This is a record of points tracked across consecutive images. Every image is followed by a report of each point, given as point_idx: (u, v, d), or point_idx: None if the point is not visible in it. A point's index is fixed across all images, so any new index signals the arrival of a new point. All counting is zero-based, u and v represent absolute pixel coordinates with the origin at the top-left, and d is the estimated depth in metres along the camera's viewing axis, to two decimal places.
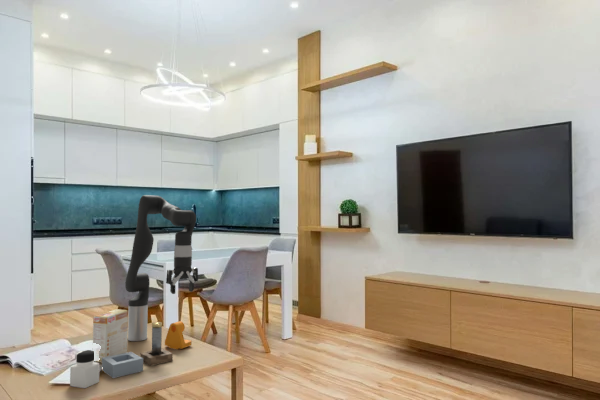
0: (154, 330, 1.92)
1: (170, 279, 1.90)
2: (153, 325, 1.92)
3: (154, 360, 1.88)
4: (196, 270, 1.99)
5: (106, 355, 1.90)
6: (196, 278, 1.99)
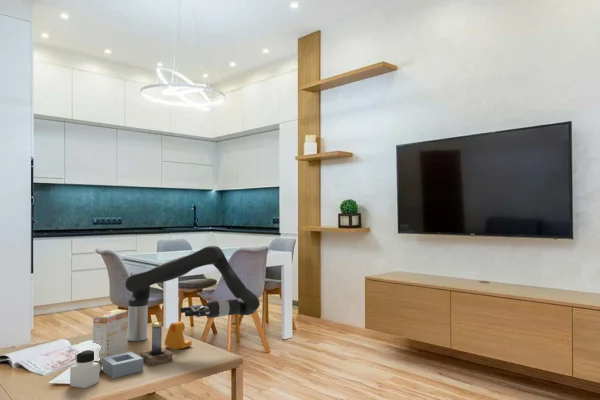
0: (154, 330, 1.92)
1: (200, 316, 1.97)
2: (153, 325, 1.92)
3: (154, 360, 1.88)
4: None
5: (106, 355, 1.90)
6: (191, 310, 2.08)
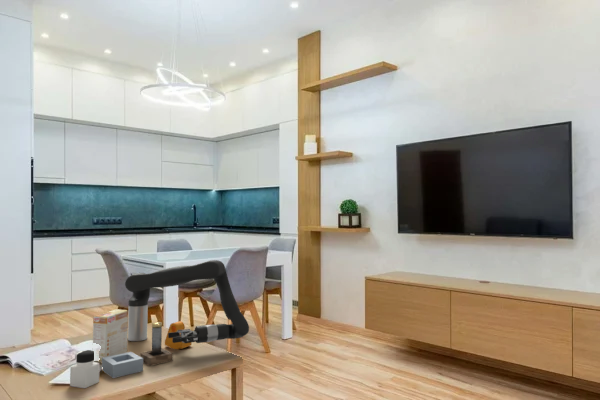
0: (154, 330, 1.92)
1: None
2: (153, 325, 1.92)
3: (154, 360, 1.88)
4: None
5: (106, 355, 1.90)
6: None
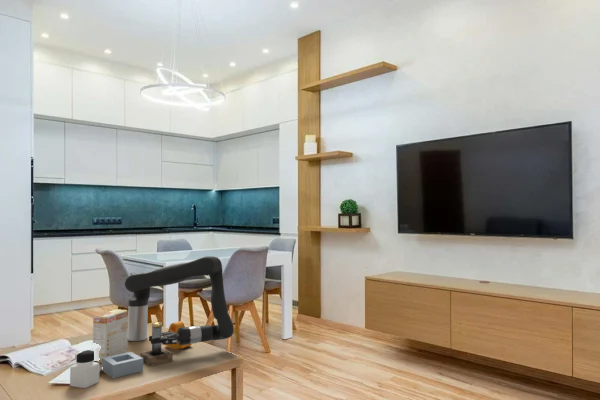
0: (154, 330, 1.92)
1: None
2: (153, 325, 1.92)
3: (154, 360, 1.88)
4: None
5: (106, 355, 1.90)
6: None
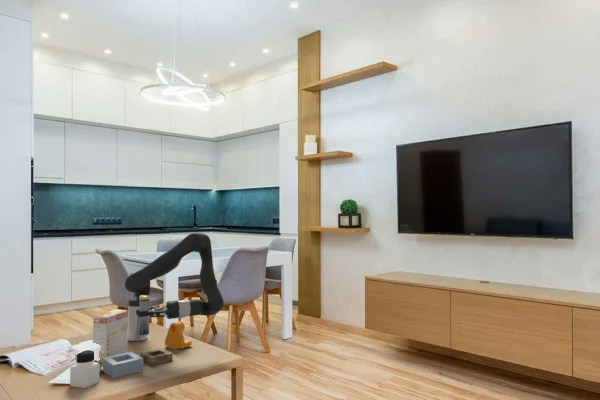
0: (141, 303, 1.87)
1: None
2: (140, 298, 1.87)
3: (154, 360, 1.88)
4: None
5: (106, 355, 1.90)
6: None
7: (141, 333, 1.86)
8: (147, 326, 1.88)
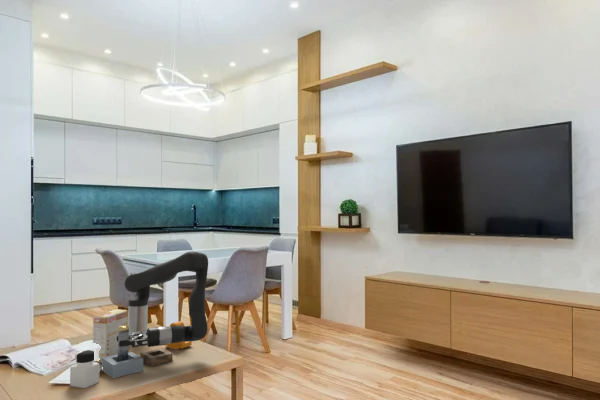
0: (120, 334, 1.79)
1: None
2: (119, 329, 1.79)
3: (154, 360, 1.88)
4: None
5: (106, 355, 1.90)
6: (130, 338, 1.88)
7: None
8: (126, 358, 1.80)
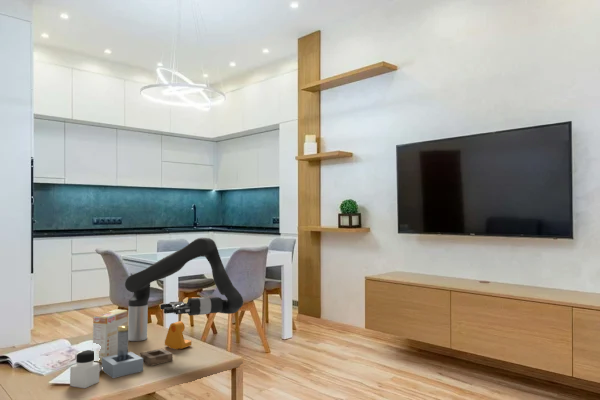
0: (120, 334, 1.79)
1: None
2: (118, 329, 1.79)
3: (154, 360, 1.88)
4: None
5: (106, 355, 1.90)
6: (172, 307, 2.01)
7: None
8: (126, 358, 1.80)
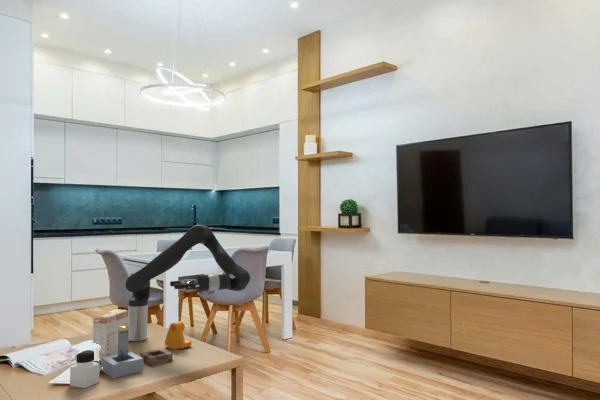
0: (120, 334, 1.79)
1: (190, 288, 1.95)
2: (119, 329, 1.79)
3: (154, 360, 1.88)
4: None
5: (106, 355, 1.90)
6: None
7: None
8: (126, 359, 1.80)
